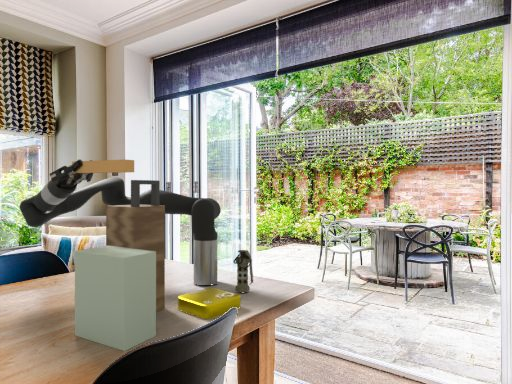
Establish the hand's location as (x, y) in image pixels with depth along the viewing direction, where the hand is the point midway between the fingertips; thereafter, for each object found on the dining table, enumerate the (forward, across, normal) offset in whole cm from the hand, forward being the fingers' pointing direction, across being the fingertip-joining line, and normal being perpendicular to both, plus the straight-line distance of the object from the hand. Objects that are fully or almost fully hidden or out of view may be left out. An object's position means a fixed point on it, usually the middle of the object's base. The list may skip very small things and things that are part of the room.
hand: (87, 162), depth 115 cm
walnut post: (-9, +5, +47) cm, 48 cm away
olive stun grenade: (+7, +38, +56) cm, 68 cm away
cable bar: (+4, 0, +6) cm, 8 cm away
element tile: (+6, +18, +57) cm, 60 cm away
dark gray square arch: (+11, +5, +21) cm, 25 cm away
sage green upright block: (0, -11, +52) cm, 53 cm away
